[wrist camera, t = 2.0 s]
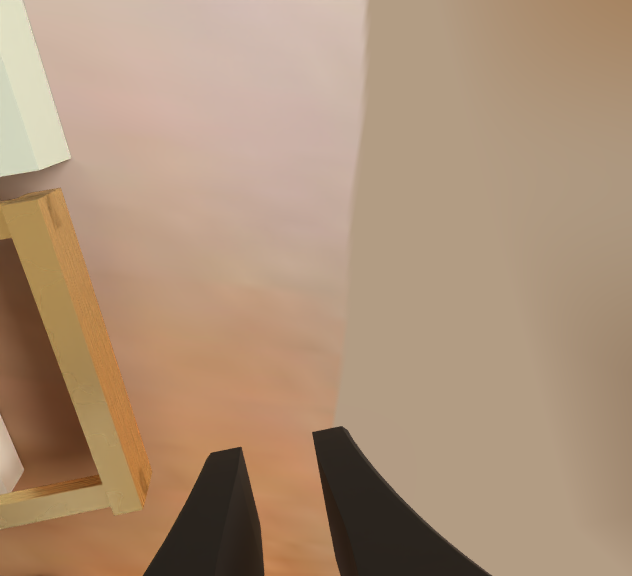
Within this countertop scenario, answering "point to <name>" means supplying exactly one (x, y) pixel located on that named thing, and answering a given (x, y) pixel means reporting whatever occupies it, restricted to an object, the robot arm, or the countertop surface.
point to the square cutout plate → (25, 99)
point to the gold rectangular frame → (75, 367)
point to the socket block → (8, 462)
